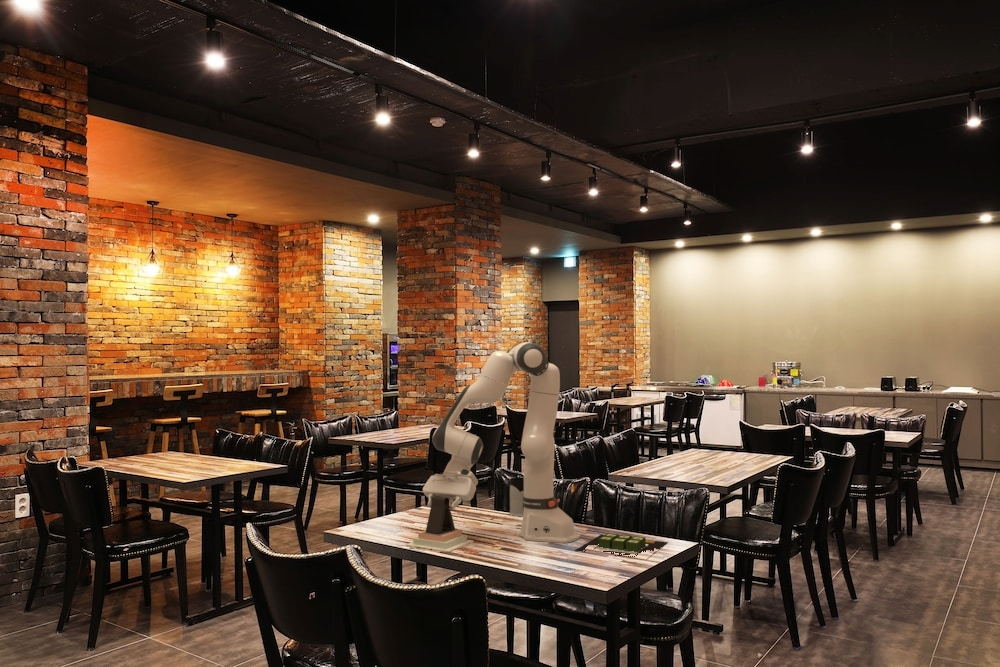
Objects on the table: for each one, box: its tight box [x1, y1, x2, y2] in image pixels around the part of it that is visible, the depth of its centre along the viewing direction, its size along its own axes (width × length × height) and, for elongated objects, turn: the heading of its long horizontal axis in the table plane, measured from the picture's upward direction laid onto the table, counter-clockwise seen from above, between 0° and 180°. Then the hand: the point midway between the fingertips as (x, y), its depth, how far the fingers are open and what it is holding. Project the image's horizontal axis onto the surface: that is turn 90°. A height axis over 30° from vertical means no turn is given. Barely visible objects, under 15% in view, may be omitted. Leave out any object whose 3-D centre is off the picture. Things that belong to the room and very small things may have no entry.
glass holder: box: [508, 476, 524, 516], centre depth 311 cm, size 9×14×15 cm, turn 123°
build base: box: [405, 528, 475, 553], centre depth 262 cm, size 18×16×5 cm
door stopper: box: [425, 496, 456, 534], centre depth 262 cm, size 9×6×12 cm, turn 143°
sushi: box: [574, 532, 669, 557], centre depth 256 cm, size 25×25×4 cm
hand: (440, 507), depth 263 cm, fingers open, 8 cm apart
